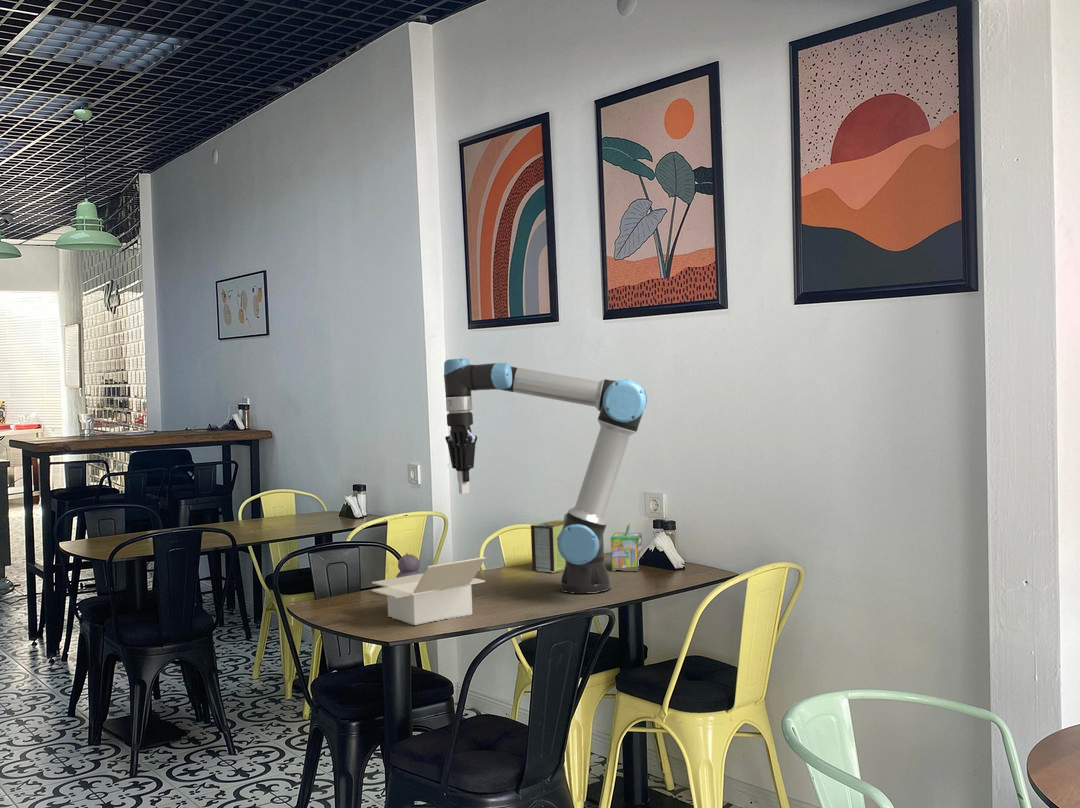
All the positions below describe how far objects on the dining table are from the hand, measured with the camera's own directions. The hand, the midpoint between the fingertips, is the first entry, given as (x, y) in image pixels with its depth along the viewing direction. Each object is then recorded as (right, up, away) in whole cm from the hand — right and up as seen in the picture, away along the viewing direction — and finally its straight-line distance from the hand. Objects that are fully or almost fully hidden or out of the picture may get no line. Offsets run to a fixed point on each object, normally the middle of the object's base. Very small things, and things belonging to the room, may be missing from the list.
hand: (464, 493), depth 280 cm
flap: (-2, -19, -27) cm, 33 cm away
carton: (-11, -32, -15) cm, 37 cm away
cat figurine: (-17, -32, +11) cm, 38 cm away
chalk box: (+51, -29, +39) cm, 70 cm away
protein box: (+28, -30, +44) cm, 60 cm away
